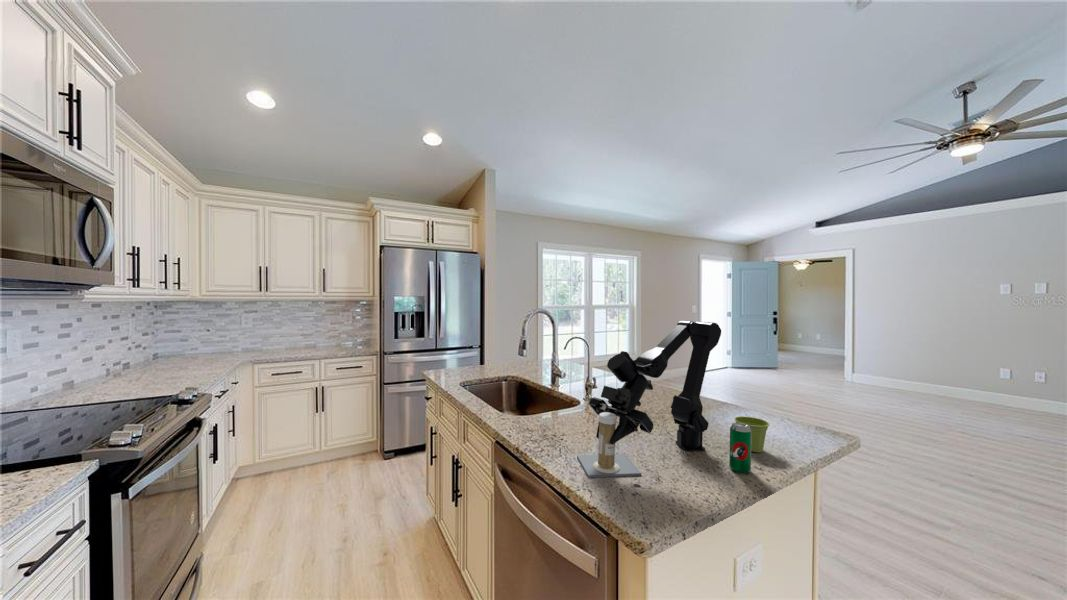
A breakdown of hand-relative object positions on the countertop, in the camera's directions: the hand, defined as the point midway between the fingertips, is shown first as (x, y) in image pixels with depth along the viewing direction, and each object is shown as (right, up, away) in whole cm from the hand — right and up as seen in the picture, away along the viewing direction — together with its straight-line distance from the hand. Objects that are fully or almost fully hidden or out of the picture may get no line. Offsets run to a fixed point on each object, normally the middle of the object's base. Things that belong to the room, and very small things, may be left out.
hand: (603, 440), depth 97 cm
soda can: (+37, -9, +2) cm, 38 cm away
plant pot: (+48, -9, +17) cm, 52 cm away
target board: (+2, -8, +3) cm, 9 cm away
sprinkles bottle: (+1, -7, +1) cm, 7 cm away
